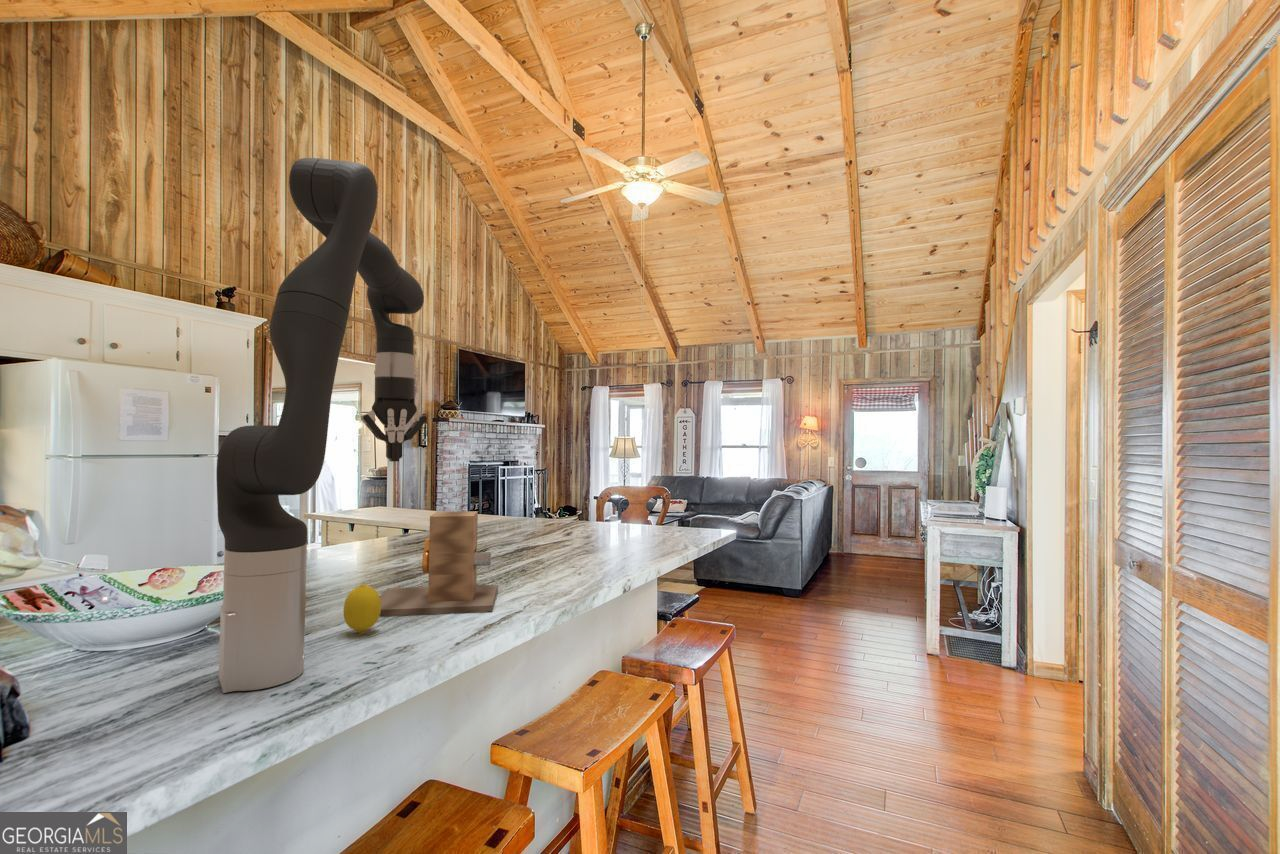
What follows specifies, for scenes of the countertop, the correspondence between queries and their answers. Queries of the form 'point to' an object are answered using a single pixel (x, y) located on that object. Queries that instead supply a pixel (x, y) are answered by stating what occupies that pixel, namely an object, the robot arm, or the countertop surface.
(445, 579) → the hitch post
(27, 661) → the countertop surface
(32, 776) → the countertop surface
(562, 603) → the countertop surface
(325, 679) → the countertop surface
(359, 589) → the lemon
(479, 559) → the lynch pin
